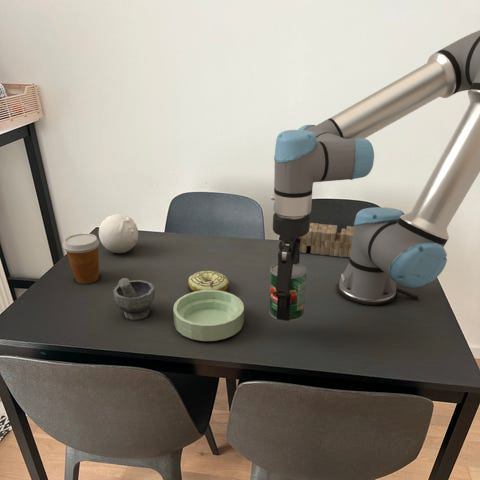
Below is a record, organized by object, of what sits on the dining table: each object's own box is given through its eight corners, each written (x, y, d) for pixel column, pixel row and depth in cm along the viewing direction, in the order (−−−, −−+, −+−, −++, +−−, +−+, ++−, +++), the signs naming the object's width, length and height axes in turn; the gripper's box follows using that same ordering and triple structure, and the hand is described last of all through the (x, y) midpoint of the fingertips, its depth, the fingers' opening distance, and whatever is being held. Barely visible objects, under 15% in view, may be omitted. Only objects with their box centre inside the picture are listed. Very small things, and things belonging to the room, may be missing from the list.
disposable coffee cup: (63, 284, 130) (54, 244, 123) (81, 269, 137) (74, 231, 131) (94, 288, 128) (87, 247, 121) (110, 273, 136) (104, 234, 129)
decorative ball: (130, 261, 143) (125, 224, 136) (94, 257, 145) (88, 220, 139) (146, 246, 153) (142, 210, 146) (112, 242, 155) (107, 207, 149)
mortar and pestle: (125, 302, 121) (120, 260, 115) (160, 305, 120) (156, 262, 114) (109, 325, 112) (102, 280, 106) (146, 328, 111) (141, 283, 105)
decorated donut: (212, 302, 122) (211, 289, 120) (181, 291, 127) (180, 278, 125) (235, 287, 129) (235, 275, 127) (205, 276, 134) (204, 265, 132)
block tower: (292, 254, 150) (385, 261, 144) (293, 229, 146) (389, 236, 140) (295, 245, 157) (385, 251, 151) (296, 221, 152) (389, 226, 146)
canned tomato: (303, 304, 110) (306, 261, 104) (304, 322, 103) (307, 278, 97) (270, 303, 110) (271, 260, 104) (268, 320, 104) (269, 276, 98)
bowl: (250, 312, 118) (251, 295, 115) (232, 349, 104) (232, 330, 101) (189, 303, 121) (188, 286, 119) (163, 337, 108) (162, 319, 105)
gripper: (283, 196, 103) (279, 286, 115) (261, 229, 86) (260, 331, 99) (317, 198, 102) (309, 290, 114) (302, 233, 85) (295, 336, 97)
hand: (286, 309), depth 106 cm, fingers closed on canned tomato, 8 cm apart
